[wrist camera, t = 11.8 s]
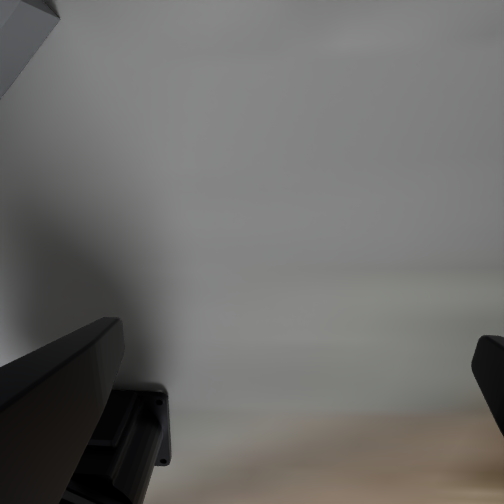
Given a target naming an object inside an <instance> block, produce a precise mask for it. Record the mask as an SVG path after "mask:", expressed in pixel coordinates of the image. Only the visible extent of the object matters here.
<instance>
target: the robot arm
mask: <svg viewBox="0 0 504 504" xmlns="http://www.w3.org/2000/svg"><path fill="white" fill-rule="evenodd" d="M124 347H125V346H124V336H123V326H122V321H121V319H120V318H114V317H103V318H101V319H99V320H97V321H95V322H93V323H91V324H89V325H86V326H84V327H82V328H80V329H78V330H76V331H74V332H72V333H70V334H68V335H66V336H64V337H62V338H60V339H58V340H56V341H53V342H51V343H49V344H47V345H45V346H43V347H41V348H39V349H37V350H35V351H33V352H31V353H29V354H27V355H25V356H22V357H20V358H18V359H16V360H14V361H12V362H10V363H8V364H6V365H4V366H2V367H0V504H143V501H144V498H145V494H146V491H147V488H148V485H149V481H150V478H151V475H152V471H153V468H154V466H167V465H169V464H170V461H171V440H170V423H169V405H168V396H167V395H166V394H164V393H161V392H143V391H122V390H111V389H112V386H113V383H114V380H115V377H116V375H117V372H118V369H119V366H120V363H121V360H122V358H123V354H124ZM471 367H472V372H473V374H474V377H475V379H476V381H477V383H478V385H479V387H480V389H481V391H482V394H483V396H484V398H485V400H486V402H487V404H488V406H489V409H490V411H491V413H492V415H493V417H494V419H495V421H496V423H497V425H498V427H499V429H500V431H501V433H502V435H503V436H504V337H501V336H494V335H483V336H481V337H480V338H479V340H478V343H477V346H476V349H475V353H474V356H473V359H472V364H471ZM159 400H162V401H159Z"/></svg>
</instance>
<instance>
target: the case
mask: <svg viewBox="0 0 504 504" xmlns="http://www.w3.org/2000/svg"><path fill="white" fill-rule="evenodd" d="M59 20H60V18H59V17H58V16H57V15H56V14H55V13H54V12H53V11H52V10H51V9H50V8H49V7H48V6H47V5H46V4H45V3H44V2H43V1H42V0H0V99H1V98H2V96H3V95H4V94H5V92H6V91H7V90H8V88H9V87H10V86H11V84H12V83H13V82H14V80H15V79H16V78H17V76H18V75H19V74H20V72H21V71H22V70H23V68H24V67H25V66H26V64H27V63H28V62H29V60H30V59H31V58H32V56H33V55H34V54H35V52H36V51H37V50H38V48H39V47H40V46H41V44H42V43H43V42H44V40H45V39H46V38H47V36H48V35H49V33H50V32H51V31H52V29H53V28H54V27H55V25H56V24H57V23H58V21H59Z"/></svg>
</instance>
